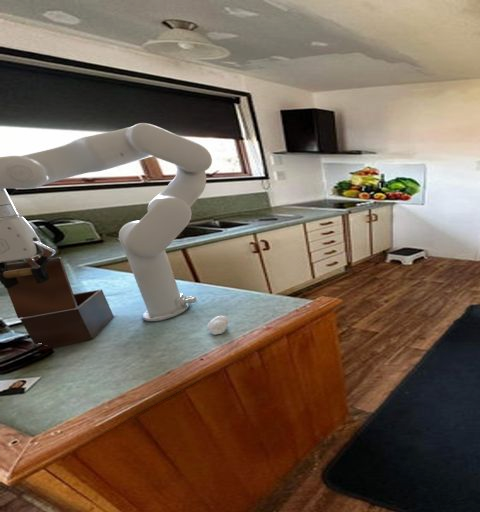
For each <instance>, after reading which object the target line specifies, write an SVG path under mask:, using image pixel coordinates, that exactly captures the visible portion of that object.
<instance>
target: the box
mask: <svg viewBox="0 0 480 512" xmlns="http://www.w3.org/2000/svg"><path fill="white" fill-rule="evenodd" d="M73 294H74V297H75V300H76V303H77V306H78V307H77V308H73V309H67V310H61V311H56V312H50V313H45V314H39V315H34V316H28V317H23V318H19V319H20V322H21V324H22V325H23V327H24V329H25V330H26V332H27V334H28V335H29V337H30V339H31V341H32V342H33V344H34V345H35V344H38V343H42V344H44V345H48V346H44V347H40V348H38V349H37V351H38V352H39V351H45V350H49V349H53V348H58V347H61V346H62V347H63V346H67V345H72V344H78V343H82V342H87V341H90V340H93V339H94V338H95V337H96V336H97V335H98V334H99V333H100V332H101V331H102V330H103V329H104V328H105V327H106V326H107V325H108V324H109V323H110V322H111V320H112V319H114V316H115V315H114V313H113V312H112V309H111V307H110V305H109V302H108V300H107V298H106V296H105V294H104V291H103V289H96V290H90V291H84V292H78V293H77V292H76V293H73Z"/></svg>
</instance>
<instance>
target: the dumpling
mask: <svg viewBox="0 0 480 512" xmlns="http://www.w3.org/2000/svg"><path fill="white" fill-rule="evenodd" d="M228 324H229V318H228V317H227V316H225V315H217V316H215V317H214V318H212V319H211V320H209V322H208V323H207V325H206V329H207V330H208V331H210V333H211V334H212V335H214V336H215V335H222V334H223V333H225V332H226V330H227V328H228Z"/></svg>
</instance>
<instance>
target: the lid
mask: <svg viewBox="0 0 480 512" xmlns="http://www.w3.org/2000/svg"><path fill="white" fill-rule="evenodd" d="M44 266H45V268H46V270H47V272H48V274H49V280H47V281H45V282H43V283H40V284H39V283H37V282H36V280H35V278H34V276H33V274H32V272H31V269H33V267H32V266H31V265H30V264H28V263H27V262H26V261H22V262H15V263H14V262H13V263H7V269H8V270H9V269H11V270H10V271H5V272H3V276H4V277H5V278H13V277H16V279H17V280H18V282H19V283H18V284H17V285H15V286H13V287H11V288H6V291H7V293H8V296H9V299H10V301H11V304H12V306H13V309H14V311H15V314H16V317H17V319H21V318H23V317H28V316H34V315H39V314H45V313H50V312H56V311H61V310H67V309H73V308H77V307H78V306H77V303H76V300H75V297H74V294H75V293H74V291H73V289H72V286H71V283H70V280H69V277H68V274H67V272H66V271H67V270H66V268H65V265H64V262H63V258H62V257H53V258H50V259H49V260H48V261H47V262H46V265H44Z"/></svg>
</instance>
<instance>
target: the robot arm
mask: <svg viewBox="0 0 480 512" xmlns="http://www.w3.org/2000/svg"><path fill="white" fill-rule="evenodd" d="M151 157H154V158H156V159H159V160H162V161H165V162H167V163H170V164H172V165H175V167H176V173H175V175H174V178H173V179H172V180H171V181H170V182H169V183H168V185H166V186H165V188H164V189H162V191H160V192H159V194H157V195H156V196H155V197H154V198H153V199H152V200H151V201H150V202H148V205H147V213H145V215H143V216H142V217H141V218H140V220H133V221H129V222H127V223H125V224H124V225H123V226H122V227H121V228H120V230H119V232H118V240H119V243H120V245H121V248H122V249H123V253H124V254H125V257H126V259H127V261H128V264H129V266H130V269H131V271H132V274H133V278H134V280H135V283H136V285H137V288H138V290H139V293H140V295H141V298H142V300H143V303H144V305H145V308H146V311H144V312H143V314H142V317H143V320H144V321H147V322H159V321H165V320H168V319H171V318H174V317H176V316H179V315H180V314H182V313H184V312H185V311H186V310H188V308H189V307H190V304H195V303H197V302H198V300H197V297H196V296H194V295H188V296H185V294H184V293H183V292H180V290H179V288H178V285H177V281H176V278H175V275H174V272H173V269H172V266H171V262H170V259H169V257H168V254H167V252H166V249H167V248H168V247H169V246H170V245H171V244H172V243H173V241H174V240H175V239H177V237H178V236H179V235H180V234H181V233H182V232H183V231H184V230H185V228H187V226H188V225H189V224H190V222H191V219H192V215H193V213H192V209H191V208H192V207H193V205H194V204H195V203H196V201H197V200H198V199H199V198H200V196H201V195H202V194H203V193H204V192H205V191H204V190H205V188H206V185H207V173H206V171H208V170H209V169H210V168H211V166H212V163H213V158H212V154H211V153H210V152H209V150H208V149H207V148H206V147H205V146H203V145H201V144H200V143H197V142H195V141H193V140H191V139H188V138H186V137H183V136H180V135H178V134H176V133H173V132H171V131H169V130H166V129H165V128H162V127H160V126H157V125H154V124H151V123H146V122H140V123H136V124H134V125H132V126H128V127H125V128H121V129H116V130H112V131H107V132H103V133H98V134H93V135H89V136H84V137H81V138H77V139H74V140H73V141H71V142H68V143H67V144H63V145H61V146H57V147H54V148H50V149H45V150H41V151H37V152H32V153H29V154H25V155H7V156H0V283H1V285H3V287H4V288H5V289H7V288H11V287H13V286H15V285H17V284H18V283H19V282H18V280H17V279H16V277H13V278H5V277H4V276H3V272H5V271H10V270H11V269H9V270H8V269H7V264H8V262H15V261H23V260H24V262H27V263H28V264H30V265H31V266H32V267H33V269H31V272H32V274H33V276H34V278H35V280H36V282H37V283H39V284H40V283H43V282H45V281H47V280H49V274H48V272H47V270H46V268H45V266H44V265H46V262H47V261H48V260H49V259H51V258H52V257H53V256H54V255H55V254H56V253H57V251H56V250H55V249H53V248H51V247H49V246H47V245H45V244H43V243H42V241H41V239H40V238H39V236H38V234H37V233H36V231H35V230H34V228H33V226H31V224H30V223H29V222H28V220H26V218H25V217H24V216H20V215H19V213H18V211H17V210H16V207H15V206H14V203H13V201H12V199H11V198H10V195H9V193H8V192H7V189H15V190H16V189H17V190H32V189H38V188H40V187H42V186H45V185H47V184H51V183H54V182H58V181H62V180H66V179H68V178H73V177H76V176H81V175H84V174H89V173H96V172H102V171H107V170H110V169H114V168H117V167H120V166H124V165H128V164H130V163H134V162H137V161H141V160H145V159H147V158H151ZM40 254H42V255H40Z"/></svg>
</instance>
